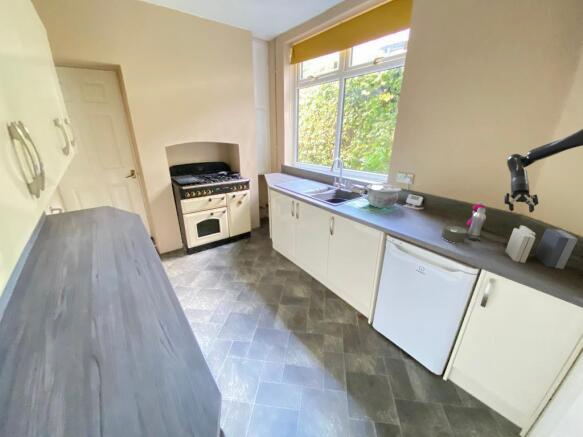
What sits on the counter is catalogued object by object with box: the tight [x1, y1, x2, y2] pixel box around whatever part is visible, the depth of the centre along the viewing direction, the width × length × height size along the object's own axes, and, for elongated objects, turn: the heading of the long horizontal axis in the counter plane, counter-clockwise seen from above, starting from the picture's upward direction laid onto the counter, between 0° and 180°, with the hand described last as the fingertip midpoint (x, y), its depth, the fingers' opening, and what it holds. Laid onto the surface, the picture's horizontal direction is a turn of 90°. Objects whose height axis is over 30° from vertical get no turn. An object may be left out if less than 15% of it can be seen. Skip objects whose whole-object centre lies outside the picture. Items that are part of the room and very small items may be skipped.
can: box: [441, 224, 468, 244], centre depth 141 cm, size 12×12×7 cm
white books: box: [504, 227, 536, 264], centre depth 121 cm, size 4×11×14 cm, turn 159°
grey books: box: [533, 228, 578, 270], centre depth 116 cm, size 6×11×16 cm, turn 158°
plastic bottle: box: [466, 207, 487, 242], centre depth 139 cm, size 6×7×20 cm
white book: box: [518, 225, 537, 238], centre depth 125 cm, size 2×11×14 cm, turn 159°
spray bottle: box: [466, 201, 486, 227], centre depth 151 cm, size 7×7×20 cm
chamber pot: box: [360, 182, 402, 209], centre depth 198 cm, size 28×28×21 cm
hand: (521, 211), depth 133 cm, fingers open, 8 cm apart
